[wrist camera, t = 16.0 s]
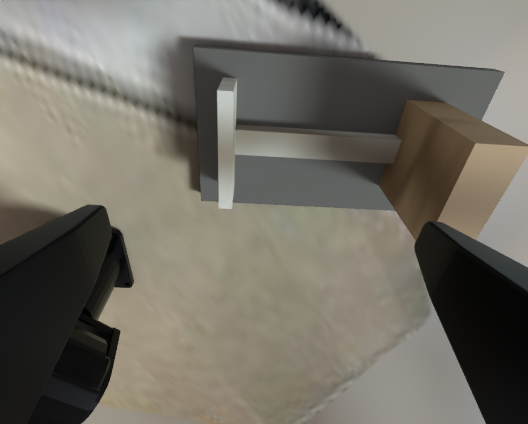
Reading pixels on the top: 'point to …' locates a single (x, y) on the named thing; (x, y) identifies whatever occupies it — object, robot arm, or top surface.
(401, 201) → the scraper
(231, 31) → the top surface
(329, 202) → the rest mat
